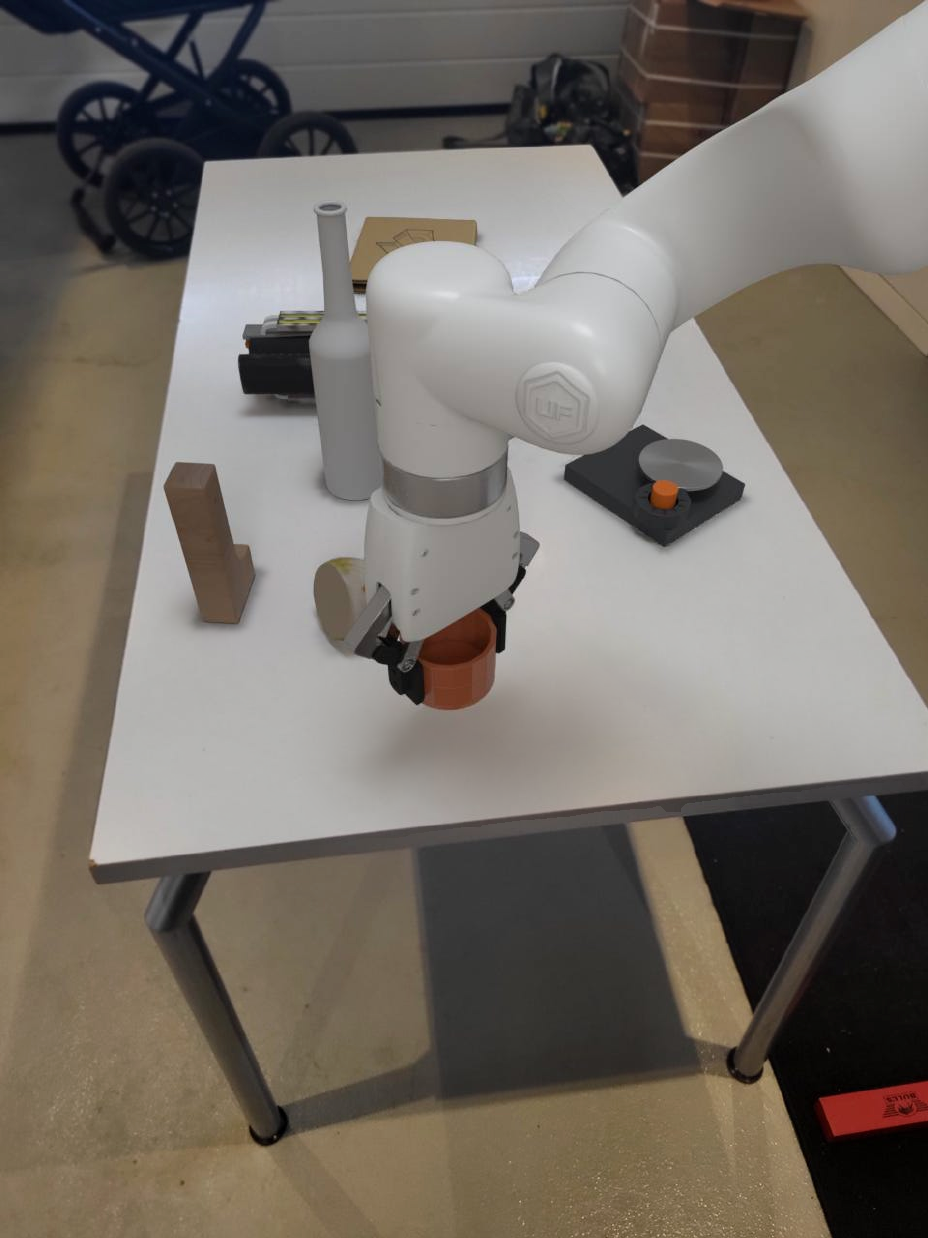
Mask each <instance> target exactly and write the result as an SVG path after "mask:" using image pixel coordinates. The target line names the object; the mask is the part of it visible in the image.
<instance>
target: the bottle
mask: <svg viewBox="0 0 928 1238" xmlns="http://www.w3.org/2000/svg"><path fill="white" fill-rule="evenodd" d="M312 209H313V212H314V214H316V223H317V231H318V232H317V233H318V241H319V251H320V262H321V271H322V288H323V290H322V291H323V292H322V293H323V311H324V316H323V318H322V320H321V321H320V323H319V324H318V325H317V326H316V328H315V329H314V331H313V333H312V335H311V337H310V339H309V348H310V357H311V365H312V374H313V382H314V390H315V399H316V403H315V406H316V414H317V423H318V424H317V425H318V432H319V439H320V448H321V457H322V464H323V465H322V466H323V473H324V481H325V487H326V489H327V491H328V492H329V493H330V494H331V495H333V496H334V497H337V498H338V499H342V500H347V501H363V500H368V499H369V500H370V498H371V494H372V493H373V492H374V491H376V490H377V489H378V488H380V487H382V482H381V471H380V460H379V448H378V436H377V425H376V413H375V402H374V391H373V380H372V368H371V357H370V346H369V334H368V324H367V323H366V322H365V321H364V320H363V319H362V318H361V317H360V316H359V315H358V313H357V311H358V310H357V305H356V298H355V293H354V291H353V285H352V278H351V270H350V261H351V258H350V250H349V239H348V230H347V229H348V228H347V219H346V212H347V211H348V205H347V204H346V203H345V202H343V201H340V200H336V199H327V200H322V201H318V202H317V203H315V204H314V206H313V208H312Z"/></svg>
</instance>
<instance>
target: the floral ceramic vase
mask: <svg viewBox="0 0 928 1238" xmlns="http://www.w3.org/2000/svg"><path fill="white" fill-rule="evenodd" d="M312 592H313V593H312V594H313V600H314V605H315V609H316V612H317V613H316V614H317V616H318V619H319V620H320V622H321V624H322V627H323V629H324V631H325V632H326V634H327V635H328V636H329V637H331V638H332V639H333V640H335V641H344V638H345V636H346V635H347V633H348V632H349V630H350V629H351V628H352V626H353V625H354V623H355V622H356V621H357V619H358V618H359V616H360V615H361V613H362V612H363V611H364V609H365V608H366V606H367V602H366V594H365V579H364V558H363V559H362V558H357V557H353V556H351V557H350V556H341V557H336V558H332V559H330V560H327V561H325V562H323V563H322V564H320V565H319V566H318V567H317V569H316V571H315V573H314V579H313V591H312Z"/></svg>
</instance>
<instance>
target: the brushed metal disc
mask: <svg viewBox="0 0 928 1238" xmlns="http://www.w3.org/2000/svg"><path fill="white" fill-rule="evenodd" d="M638 465H639V468H640V470H641V472H642V473H643V474H644V476H645V477H647V478H648V479H649V480H650V481H652V482H653V483H655V482H657V481H661V480H667V481H671V482H673V483H674V484H676V485H677V487H678V491H698V490H703V489H706V488H709V487H711V486H713V485H714V484H716V483H717V482H718V481H719V479H720V478H721V476H722V473H723V471H724V464H723V462H722V459H721V457H719V455H718V454H717V453H715V451H713V450H712V449H710V448H709V447H707V446H706V445H703V444H701V443H699V442H696V441H692V440H688V439H681V438H668V439H665V440H659V441H656V442H653V443H651V444H649V445H647V446H646V447H645V448H644V449H643V450H642V451H641V453H640V455H639V459H638Z"/></svg>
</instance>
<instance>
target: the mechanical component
mask: <svg viewBox="0 0 928 1238" xmlns="http://www.w3.org/2000/svg"><path fill="white" fill-rule="evenodd" d="M357 313H358V315H359V316H360V317H361V318H362V319H363V320H364V321H365V322H366V323H367V311H366V310H357ZM323 316H324V310H280V311H279V314H273V315H268V316H266V317H265V318H264V319H263V322H262V323H246V324H245V326H244V330H243V332H242V335H241V337H242V340H244V341H245V342H244V345H245V349H247V350H248V353H238V356H237V370H238V375H239V380H240V386H241V390H242V393H243V394H244V395H272V396H273V397H275V398H276V399H280V400H287V402H288V404H316V399H315V390H314V382H313V374H312V365H311V357H310V348H309V339H310V337H311V335H312V333H313V331H314V329H315V328H316V326H317V325H318V324H319V323H320V321H321V320H322V318H323ZM367 324H368V323H367Z"/></svg>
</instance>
